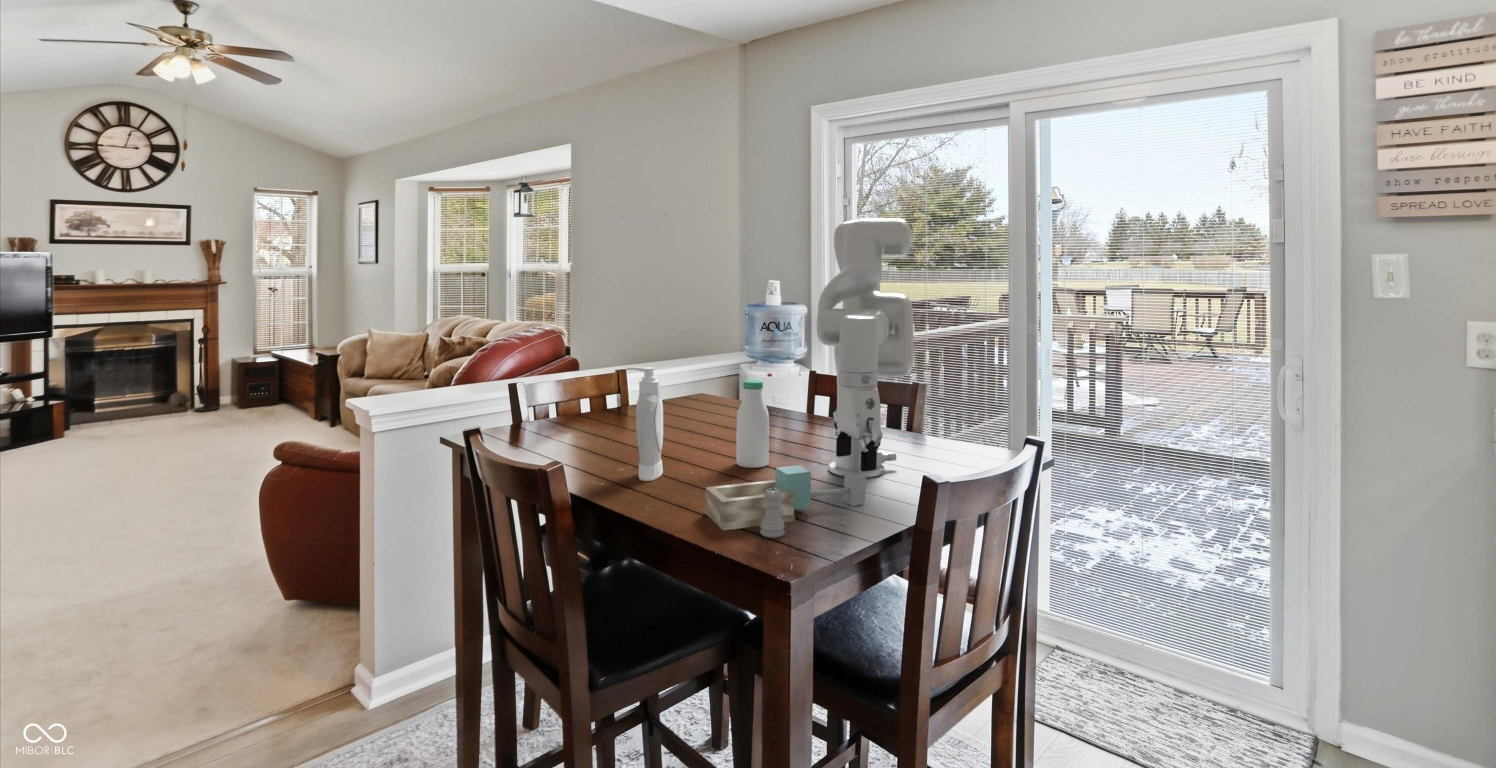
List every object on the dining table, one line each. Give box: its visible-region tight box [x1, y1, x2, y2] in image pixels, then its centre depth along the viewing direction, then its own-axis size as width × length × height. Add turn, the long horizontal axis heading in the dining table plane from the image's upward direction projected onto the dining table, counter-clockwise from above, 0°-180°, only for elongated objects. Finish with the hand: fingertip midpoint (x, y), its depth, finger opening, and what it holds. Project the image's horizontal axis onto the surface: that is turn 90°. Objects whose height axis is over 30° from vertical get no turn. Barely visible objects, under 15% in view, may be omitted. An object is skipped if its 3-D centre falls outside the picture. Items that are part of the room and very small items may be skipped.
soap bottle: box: [625, 366, 664, 482], centre depth 169 cm, size 13×8×24 cm, turn 174°
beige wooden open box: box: [704, 479, 795, 531], centre depth 142 cm, size 14×10×5 cm
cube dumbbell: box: [775, 464, 867, 511], centre depth 148 cm, size 18×5×8 cm, turn 112°
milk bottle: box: [735, 379, 770, 469], centre depth 179 cm, size 8×8×20 cm
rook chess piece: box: [759, 488, 786, 539], centre depth 133 cm, size 4×4×8 cm
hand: (855, 462), depth 151 cm, fingers open, 9 cm apart
